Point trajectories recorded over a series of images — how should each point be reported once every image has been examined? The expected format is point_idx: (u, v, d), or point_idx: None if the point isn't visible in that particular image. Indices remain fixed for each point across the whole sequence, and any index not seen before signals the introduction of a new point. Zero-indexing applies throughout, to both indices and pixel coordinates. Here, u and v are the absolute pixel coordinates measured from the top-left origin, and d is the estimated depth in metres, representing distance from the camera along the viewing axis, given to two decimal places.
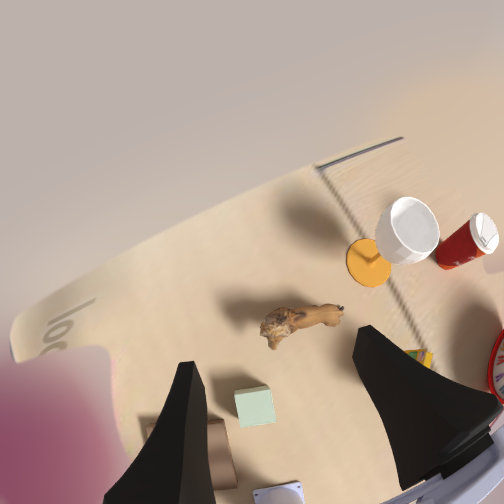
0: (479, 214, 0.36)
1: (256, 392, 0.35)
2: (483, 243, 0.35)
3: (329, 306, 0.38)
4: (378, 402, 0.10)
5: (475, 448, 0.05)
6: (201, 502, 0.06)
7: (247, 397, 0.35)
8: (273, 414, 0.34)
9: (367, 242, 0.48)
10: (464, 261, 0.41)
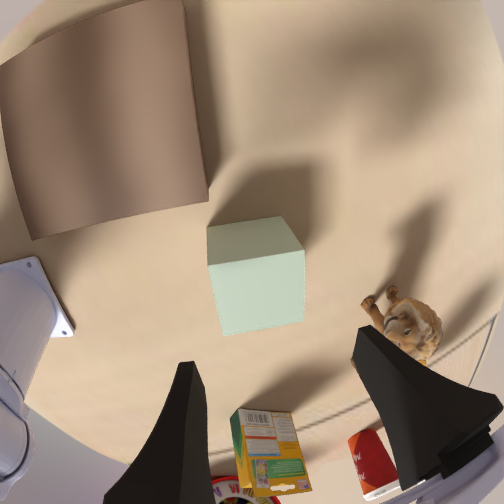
0: None
1: (302, 295, 0.16)
2: (378, 494, 0.29)
3: None
4: (378, 402, 0.10)
5: (475, 448, 0.05)
6: (201, 502, 0.06)
7: (294, 278, 0.15)
8: (242, 330, 0.17)
9: None
10: (359, 465, 0.36)
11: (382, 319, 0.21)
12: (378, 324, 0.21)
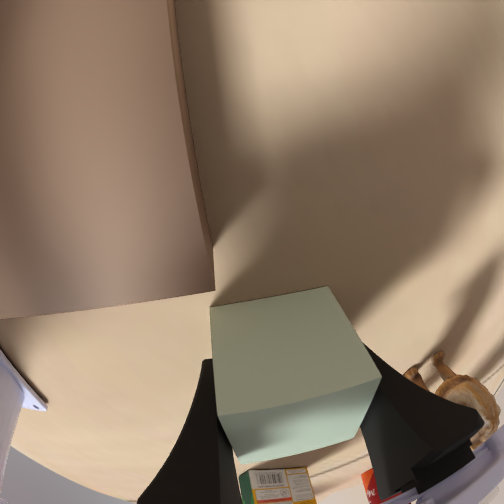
0: None
1: (359, 419, 0.09)
2: None
3: None
4: None
5: (454, 463, 0.05)
6: (233, 500, 0.06)
7: (356, 407, 0.08)
8: (269, 458, 0.09)
9: None
10: (372, 501, 0.29)
11: None
12: None
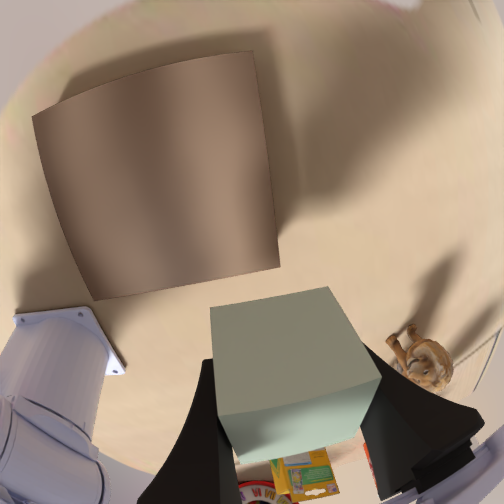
0: None
1: (359, 419, 0.09)
2: None
3: None
4: None
5: (454, 463, 0.05)
6: (233, 500, 0.06)
7: (355, 408, 0.08)
8: (269, 458, 0.09)
9: None
10: None
11: (404, 355, 0.24)
12: (400, 359, 0.24)
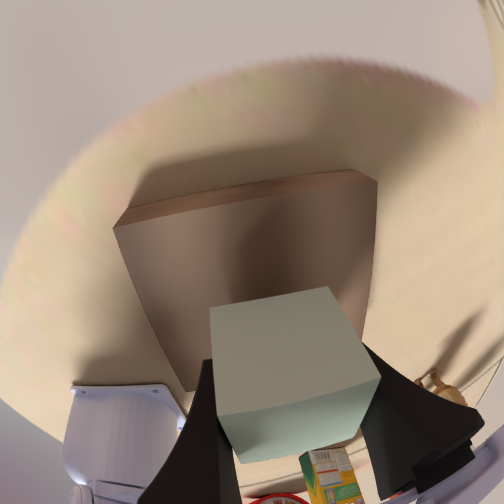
0: None
1: (359, 419, 0.09)
2: None
3: None
4: None
5: (454, 463, 0.05)
6: (233, 500, 0.06)
7: (355, 408, 0.08)
8: (269, 458, 0.09)
9: None
10: None
11: None
12: None
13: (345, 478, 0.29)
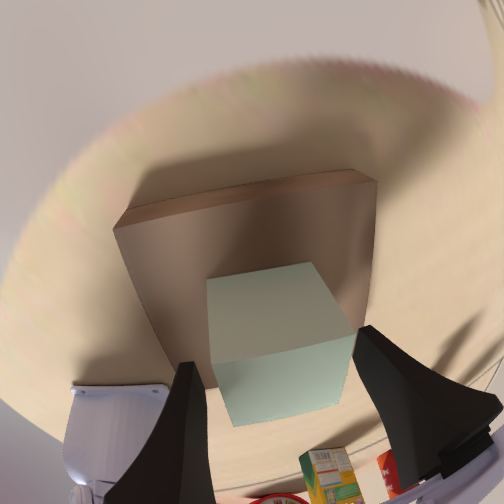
0: None
1: (341, 381, 0.11)
2: None
3: None
4: (378, 402, 0.10)
5: (475, 448, 0.05)
6: (201, 502, 0.06)
7: (335, 366, 0.10)
8: (259, 420, 0.11)
9: None
10: (387, 478, 0.39)
11: None
12: None
13: (345, 478, 0.29)
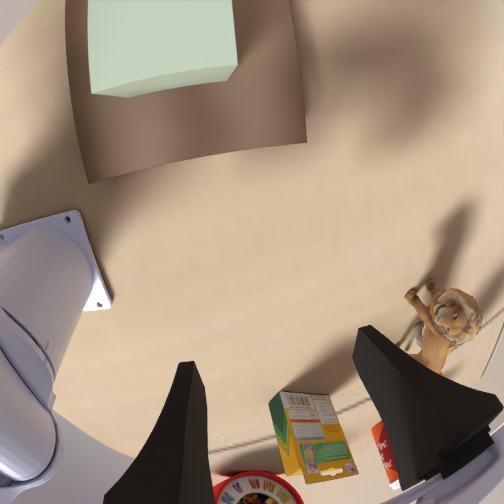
0: None
1: (228, 15, 0.07)
2: None
3: (441, 368, 0.22)
4: (378, 402, 0.10)
5: (475, 448, 0.05)
6: (201, 502, 0.06)
7: None
8: (123, 77, 0.07)
9: None
10: (385, 453, 0.35)
11: (426, 308, 0.22)
12: (423, 313, 0.22)
13: (329, 433, 0.25)
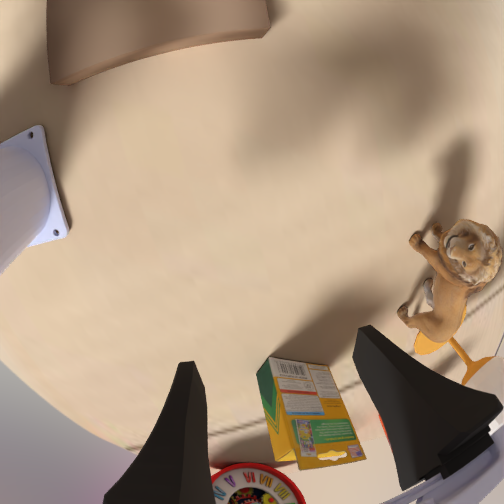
0: None
1: None
2: None
3: (458, 327, 0.19)
4: (378, 402, 0.10)
5: (475, 448, 0.05)
6: (201, 502, 0.06)
7: None
8: None
9: None
10: None
11: (435, 251, 0.19)
12: (431, 256, 0.19)
13: (329, 409, 0.22)
